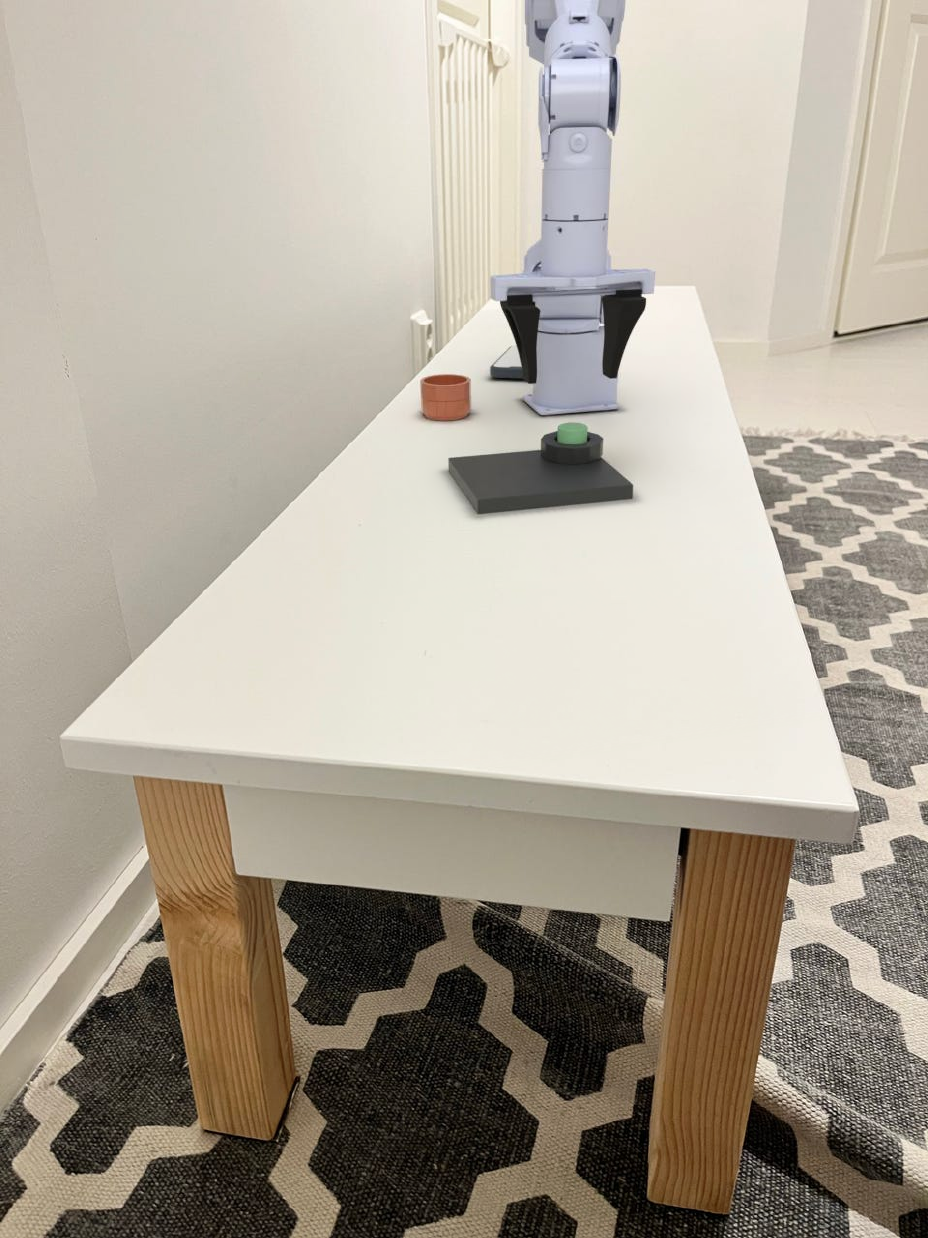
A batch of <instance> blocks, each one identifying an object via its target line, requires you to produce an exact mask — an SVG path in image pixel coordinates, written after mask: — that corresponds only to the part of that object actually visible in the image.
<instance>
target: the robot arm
mask: <svg viewBox="0 0 928 1238" xmlns="http://www.w3.org/2000/svg"><path fill="white" fill-rule="evenodd" d="M625 11H626V0H524V24H525V39H526V41H525V42H526V44H525V45H526V46H527V47H528V57H530V58H531V59H533V60H535V61H537V62H538V63H539V64H542V65H543V66H540V69H539V73H538V115H537V116H538V117H537V119H538V131H539V139H540V147H541V149H540V150H541V151H540V152H541V154H540V156H541V159H540V160H542V163H543V168H542V169H541V171H542V172H541V174H542V175H541V225H540V226H541V227H540V229H541V230H540V231H541V233H540V234H541V235H540V237H541V238H540V239H539V240H538V241H536V242H535V243H534V244H533V245H531V246H530V247H529V248H528V249H527V250H526V254H525V255H524V256H523V270H522V272H521V273H511V274H497V275H490V281H489V283H490V284H489V285H490V299H491V300H492V301H494V302H499V306H500V308H501V310H502V313H503V315H504V317H505V319H506V321H507V324H508V326H509V329H510V331H511V334H512V336H513V340H514V341H515V346H517V349H518V352H519V357H520V361H521V366H522V372H523V378H522V380H523V381H524V382H526V383H527V384H528V385H532V393H529V394H522V395H521V399H522V400H523V402H525V403H526V404H527V405H528V406H530V407H531V408H532V409H533V410H534V412H536V413H537V414H538V415H540V416H549V415H562V414H573V413H584V412H585V413H587V412H599V411H609V410H610V411H611V410H618V409H619V406H620V405H619V404H618V403H617V400H618V384H619V383H618V382H619V381H618V379H619V370H620V366H621V363H622V359H623V357H624V353H625V350H626V348H627V345H628V343H629V340H630V337H631V336H632V334H633V331H634V329H635V327H636V325H637V323H638V322H639V320H640V318H641V316H642V314H643V313H644V312H645V310H646V306H647V298H646V297H644V296H643V295H653V294H654V293H655V282H656V271H655V270H652V269H648V268H631V269H630V268H629V269H628V268H627V269H626V268H625V269H624V268H623V269H622V268H621V269H619V268H618V269H617V268H616V269H614V268H613V269H612V256H611V254H610V252H609V249H608V236H609V217H610V215H609V214H610V197H611V196H610V194H611V193H610V191H611V173H612V170H611V169H612V166H611V165H612V150H613V139H612V138H611V137H610V135H609V134H608V133H607V132H608V130H609V132H610V133H611V134H612V136H613V137H615V136H616V133H617V129H618V125H619V120H620V119H619V118H620V110H621V92H622V91H621V90H622V89H621V88H622V79H621V78H622V75H621V67H620V62H619V56H618V54H617V47H618V45H619V43H620V41H621V32H622V26H623V22H624V18H625Z"/></svg>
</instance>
